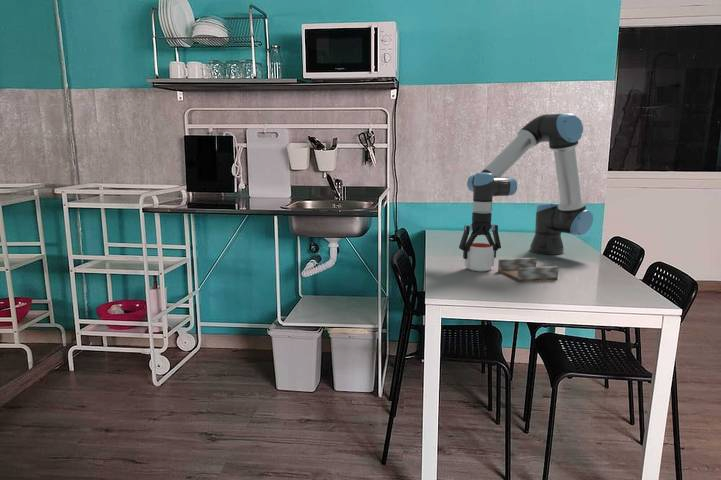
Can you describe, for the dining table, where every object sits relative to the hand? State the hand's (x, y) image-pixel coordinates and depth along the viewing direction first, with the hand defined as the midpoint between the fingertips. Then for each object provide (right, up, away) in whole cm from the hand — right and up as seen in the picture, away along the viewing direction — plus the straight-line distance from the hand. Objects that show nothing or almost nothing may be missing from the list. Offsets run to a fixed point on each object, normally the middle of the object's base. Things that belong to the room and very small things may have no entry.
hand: (479, 266), depth 217 cm
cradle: (+17, -3, -9) cm, 19 cm away
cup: (0, -2, 0) cm, 2 cm away
